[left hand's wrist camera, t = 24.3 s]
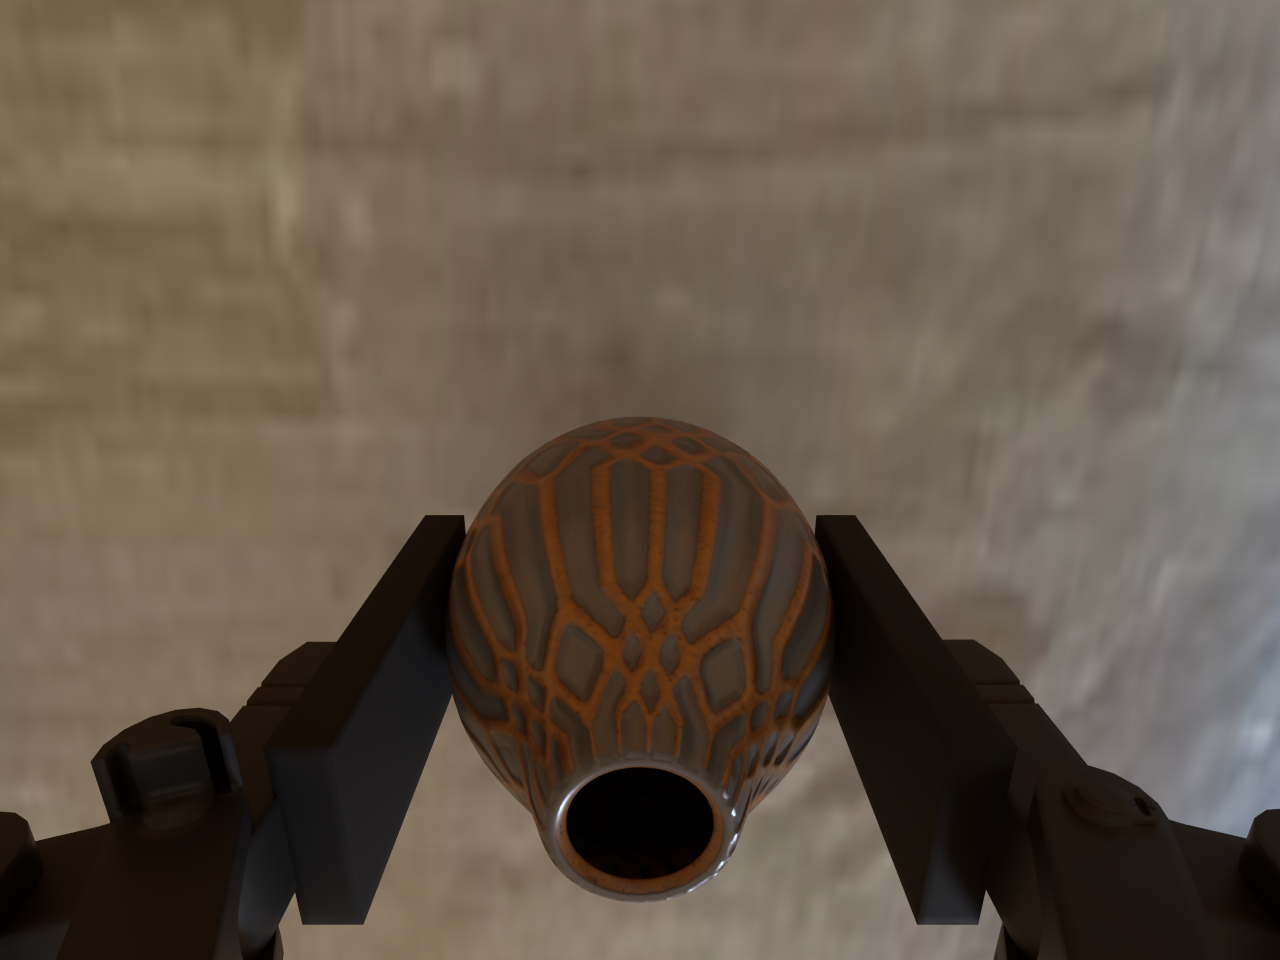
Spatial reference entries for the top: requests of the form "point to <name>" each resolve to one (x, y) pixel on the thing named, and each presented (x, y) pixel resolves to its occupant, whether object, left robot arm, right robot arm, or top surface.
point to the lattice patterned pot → (640, 648)
